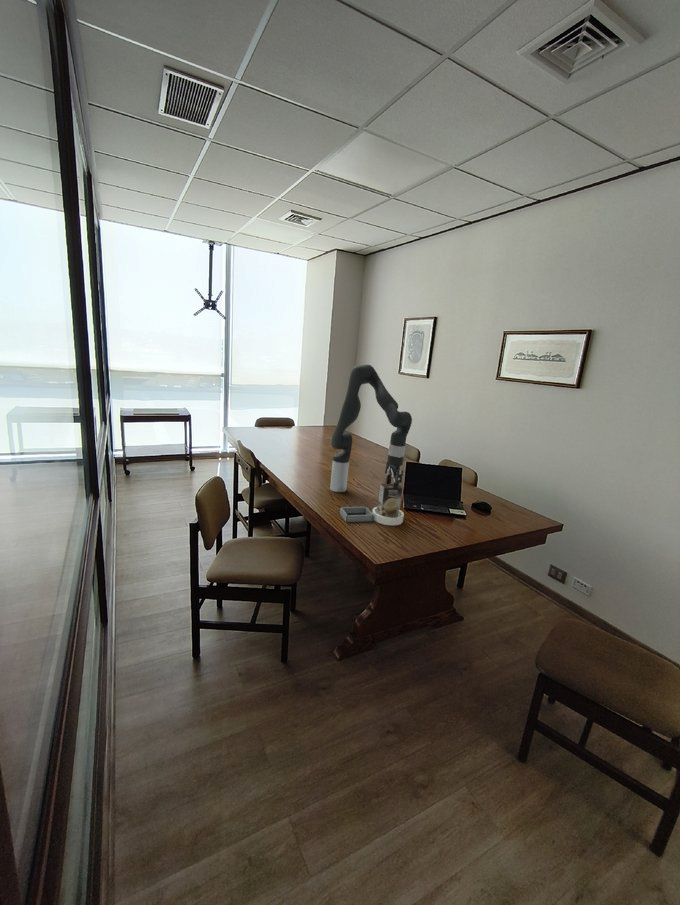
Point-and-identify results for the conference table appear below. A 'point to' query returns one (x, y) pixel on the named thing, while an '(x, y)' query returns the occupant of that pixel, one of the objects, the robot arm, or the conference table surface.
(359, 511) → the grey rectangular frame
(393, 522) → the bowl
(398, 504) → the coffee box
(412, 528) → the conference table surface
